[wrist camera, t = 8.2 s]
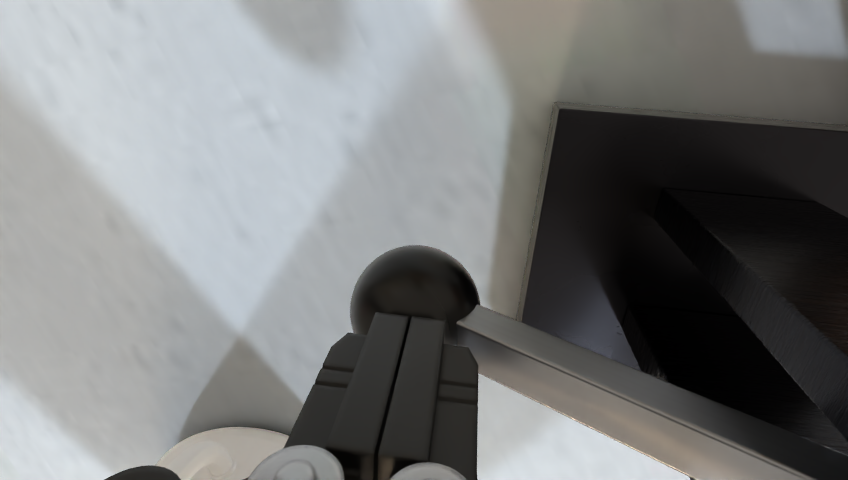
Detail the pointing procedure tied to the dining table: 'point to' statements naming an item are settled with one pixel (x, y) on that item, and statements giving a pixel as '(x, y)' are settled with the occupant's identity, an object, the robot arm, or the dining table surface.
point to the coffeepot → (222, 453)
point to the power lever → (588, 379)
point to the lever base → (700, 256)
